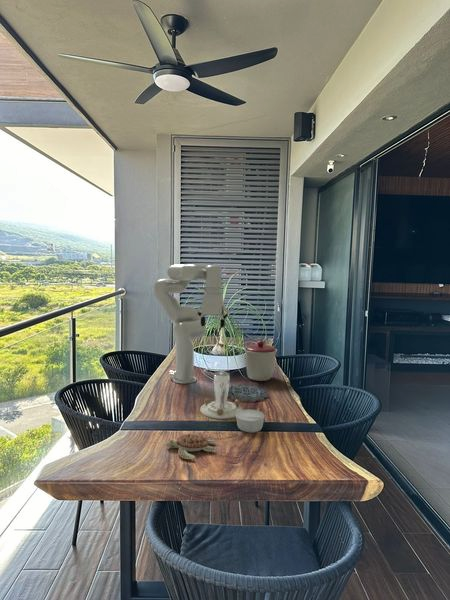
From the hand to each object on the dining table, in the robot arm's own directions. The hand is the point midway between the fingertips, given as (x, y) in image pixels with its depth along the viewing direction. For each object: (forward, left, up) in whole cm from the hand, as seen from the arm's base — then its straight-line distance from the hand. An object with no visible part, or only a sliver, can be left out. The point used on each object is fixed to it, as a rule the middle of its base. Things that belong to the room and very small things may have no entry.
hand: (212, 326), depth 189 cm
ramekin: (+29, -33, -33) cm, 55 cm away
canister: (+16, +32, -32) cm, 48 cm away
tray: (+13, -21, -32) cm, 41 cm away
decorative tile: (+17, +3, -33) cm, 37 cm away
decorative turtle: (+15, -57, -33) cm, 68 cm away
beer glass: (+13, -21, -32) cm, 40 cm away
